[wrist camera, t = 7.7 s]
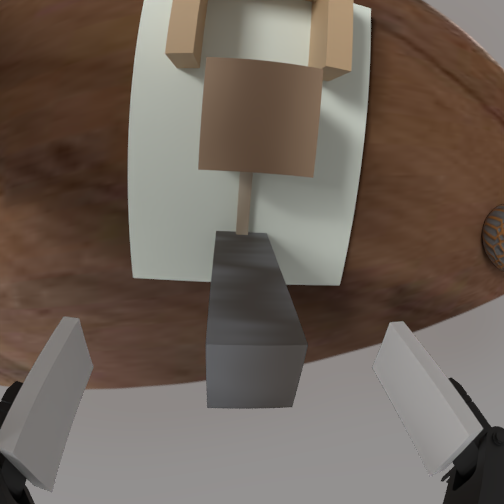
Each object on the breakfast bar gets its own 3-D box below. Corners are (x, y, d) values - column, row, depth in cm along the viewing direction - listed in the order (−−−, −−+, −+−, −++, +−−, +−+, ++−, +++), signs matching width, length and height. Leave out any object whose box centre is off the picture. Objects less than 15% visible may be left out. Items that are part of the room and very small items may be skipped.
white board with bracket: (136, 271, 23) (117, 305, 18) (150, -9, 14) (132, -39, 10) (335, 279, 24) (358, 312, 20) (365, 12, 16) (396, -9, 11)
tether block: (204, 275, 22) (188, 406, 11) (213, 83, 17) (194, 14, 6) (272, 278, 23) (309, 405, 11) (291, 89, 18) (373, 40, 6)
